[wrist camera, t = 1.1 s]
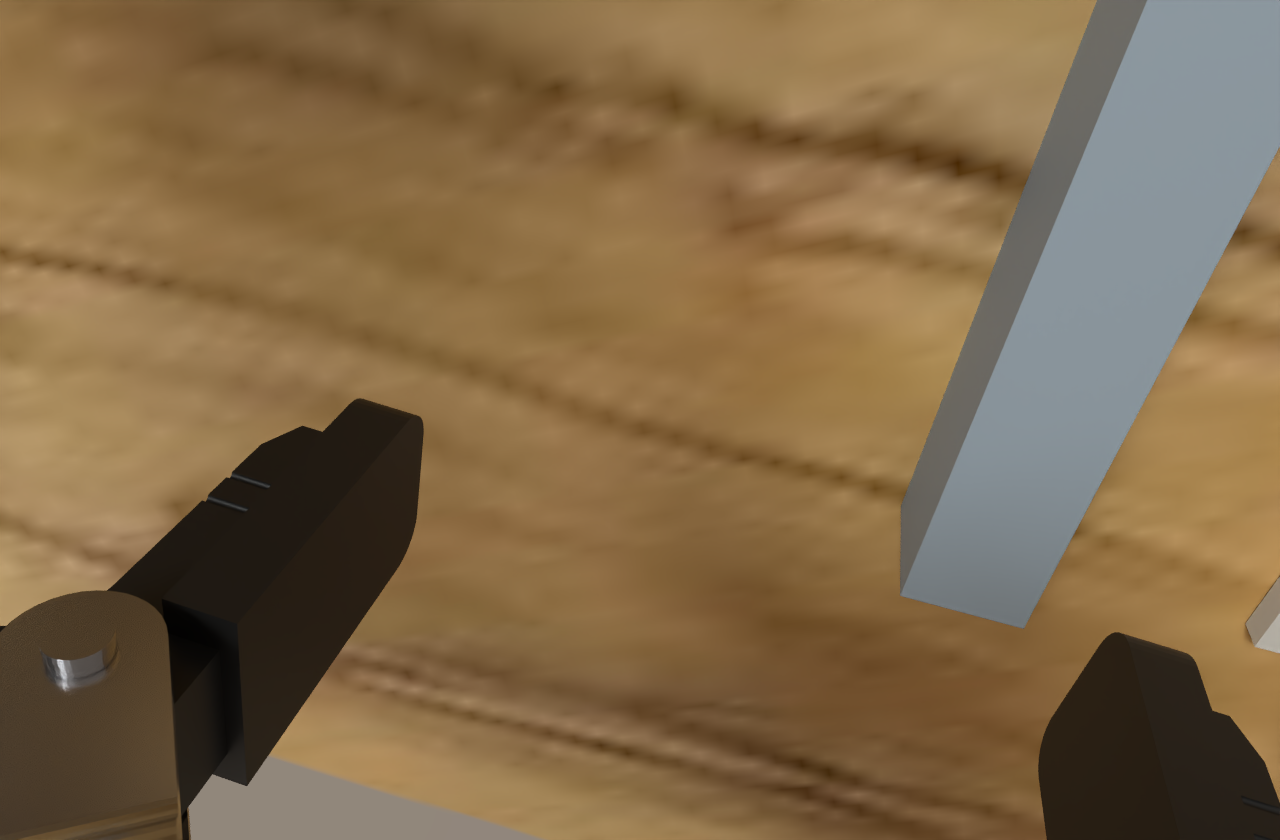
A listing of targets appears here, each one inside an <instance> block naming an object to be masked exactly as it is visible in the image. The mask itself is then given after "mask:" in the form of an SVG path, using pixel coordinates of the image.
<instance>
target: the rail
mask: <svg viewBox="0 0 1280 840" xmlns="http://www.w3.org/2000/svg"><path fill="white" fill-rule="evenodd" d="M1279 147H1280V0H1097V2H1096V5H1095V7H1094V10H1093V12H1092V15H1091V18H1090V20H1089V23H1088V25H1087V28H1086V30H1085V33H1084V36H1083V38H1082V41H1081V43H1080V46H1079V49H1078V51H1077V54H1076V56H1075V59H1074V61H1073V64H1072V67H1071V69H1070V72H1069V74H1068V77H1067V79H1066V82H1065V85H1064V87H1063V90H1062V92H1061V95H1060V98H1059V100H1058V103H1057V105H1056V108H1055V110H1054V113H1053V116H1052V118H1051V121H1050V123H1049V126H1048V128H1047V131H1046V134H1045V136H1044V139H1043V141H1042V144H1041V146H1040V149H1039V152H1038V154H1037V157H1036V159H1035V162H1034V165H1033V167H1032V170H1031V172H1030V175H1029V177H1028V180H1027V183H1026V185H1025V188H1024V190H1023V193H1022V195H1021V198H1020V201H1019V203H1018V206H1017V208H1016V211H1015V214H1014V216H1013V219H1012V221H1011V224H1010V226H1009V229H1008V232H1007V234H1006V237H1005V239H1004V242H1003V244H1002V247H1001V250H1000V252H999V255H998V257H997V260H996V263H995V265H994V268H993V270H992V273H991V275H990V278H989V281H988V283H987V286H986V288H985V291H984V293H983V296H982V299H981V301H980V304H979V306H978V309H977V312H976V314H975V317H974V319H973V322H972V324H971V327H970V330H969V332H968V335H967V337H966V340H965V342H964V345H963V348H962V350H961V353H960V355H959V358H958V361H957V363H956V366H955V368H954V371H953V373H952V376H951V379H950V381H949V384H948V386H947V389H946V391H945V394H944V397H943V399H942V402H941V404H940V407H939V410H938V412H937V415H936V417H935V420H934V422H933V425H932V428H931V430H930V433H929V435H928V438H927V440H926V443H925V446H924V448H923V451H922V453H921V456H920V459H919V461H918V464H917V466H916V469H915V471H914V474H913V477H912V479H911V482H910V484H909V487H908V489H907V492H906V495H905V497H904V500H903V502H902V505H901V559H900V596H903V597H907V598H910V599H914V600H918V601H922V602H925V603H929V604H933V605H936V606H940V607H944V608H948V609H951V610H955V611H959V612H963V613H966V614H970V615H974V616H978V617H981V618H985V619H989V620H993V621H996V622H1000V623H1004V624H1008V625H1011V626H1015V627H1019V628H1023V629H1024V627H1025V625H1026V623H1027V621H1028V620H1029V618H1030V616H1031V614H1032V612H1033V610H1034V608H1035V606H1036V604H1037V603H1038V601H1039V599H1040V597H1041V595H1042V593H1043V591H1044V589H1045V588H1046V586H1047V584H1048V582H1049V580H1050V578H1051V576H1052V574H1053V572H1054V571H1055V569H1056V567H1057V565H1058V563H1059V561H1060V559H1061V557H1062V555H1063V554H1064V552H1065V550H1066V548H1067V546H1068V544H1069V542H1070V540H1071V539H1072V537H1073V535H1074V533H1075V531H1076V529H1077V527H1078V525H1079V523H1080V522H1081V520H1082V518H1083V516H1084V514H1085V512H1086V510H1087V508H1088V506H1089V505H1090V503H1091V501H1092V499H1093V497H1094V495H1095V493H1096V491H1097V490H1098V488H1099V486H1100V484H1101V482H1102V480H1103V478H1104V476H1105V474H1106V473H1107V471H1108V469H1109V467H1110V465H1111V463H1112V461H1113V459H1114V457H1115V456H1116V454H1117V452H1118V450H1119V448H1120V446H1121V444H1122V442H1123V441H1124V439H1125V437H1126V435H1127V433H1128V431H1129V429H1130V427H1131V425H1132V424H1133V422H1134V420H1135V418H1136V416H1137V414H1138V412H1139V410H1140V408H1141V407H1142V405H1143V403H1144V401H1145V399H1146V397H1147V395H1148V393H1149V392H1150V390H1151V388H1152V386H1153V384H1154V382H1155V380H1156V378H1157V376H1158V375H1159V373H1160V371H1161V369H1162V367H1163V365H1164V363H1165V361H1166V359H1167V358H1168V356H1169V354H1170V352H1171V350H1172V348H1173V346H1174V344H1175V343H1176V341H1177V339H1178V337H1179V335H1180V333H1181V331H1182V329H1183V327H1184V326H1185V324H1186V322H1187V320H1188V318H1189V316H1190V314H1191V312H1192V310H1193V309H1194V307H1195V305H1196V303H1197V301H1198V299H1199V297H1200V295H1201V294H1202V292H1203V290H1204V288H1205V286H1206V284H1207V282H1208V280H1209V278H1210V277H1211V275H1212V273H1213V271H1214V269H1215V267H1216V265H1217V263H1218V261H1219V260H1220V258H1221V256H1222V254H1223V252H1224V250H1225V248H1226V246H1227V245H1228V243H1229V241H1230V239H1231V237H1232V235H1233V233H1234V231H1235V229H1236V228H1237V226H1238V224H1239V222H1240V220H1241V218H1242V216H1243V214H1244V212H1245V211H1246V209H1247V207H1248V205H1249V203H1250V201H1251V199H1252V197H1253V196H1254V194H1255V192H1256V190H1257V188H1258V186H1259V184H1260V182H1261V180H1262V179H1263V177H1264V175H1265V173H1266V171H1267V169H1268V167H1269V165H1270V163H1271V162H1272V160H1273V158H1274V156H1275V154H1276V152H1277V150H1278V148H1279Z"/></svg>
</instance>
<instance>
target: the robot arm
mask: <svg viewBox="0 0 1280 840" xmlns="http://www.w3.org/2000/svg"><path fill="white" fill-rule="evenodd" d="M423 432H424V428H423V421H422V419H421V417H419V416H417V415H414V414H410V413H407V412H404V411H401V410H397V409H394V408H391V407H388V406H384V405H381V404H378V403H374V402H371V401H368V400H365V399H360V398H359V399H356V400H354V401H353V402H352V403H350V404H349V405H348V406H347V407H346V408H345V409H344V411H343V412H342V413H341V414H340V415H339V416H338V417H337V418H336V419H335V420H334V421H333V422H332V423H331V424H330V425H329V426H328V427H327V428H326V429H325V430H324V431H323V432H321V431H318V430H315V429H311V428H308V427H305V426H301V427H299V428H296V429H294V430H292V431H290V432H288V433H285V434H283V435H281V436H279V437H276V438H274V439H272V440H270V441H268V442H265V443H263V444H261V445H260V446H259V447H258V448H257V449H256V450H255V451H254V452H253V453H252V454H250V455H249V456H248V457H247V458H246V459H245V460H244V461H243V462H242V463H241V464H240V465H239V466H238V467H237V468H236V469H235V470H234V471H233V472H232V475H231V477H230V478H227V477H226V478H225V479H224V480H223V481H222V482H221V483H220V484H219V485H218V486H217V487H216V488H215V489H214V490H213V491H212V492H211V493H210V494H209V495H208V499H207V500H206V502H205V501H201V502H200V503H199V504H198V505H197V506H196V507H195V508H194V509H193V510H192V511H191V512H190V513H189V514H188V515H187V516H185V517H184V518H183V519H182V520H181V521H180V522H179V523H178V524H177V525H176V526H175V527H174V528H173V529H172V530H171V531H170V532H169V533H168V534H167V535H166V536H165V537H163V538H162V539H161V540H160V541H159V542H158V543H157V544H156V545H155V546H154V547H153V548H152V549H151V550H150V551H149V552H148V553H147V554H146V555H145V556H144V557H143V558H141V559H140V560H139V561H138V562H137V563H136V564H135V565H134V566H133V567H132V568H131V569H130V570H129V571H128V572H127V573H126V574H125V575H124V576H123V577H122V578H120V579H119V580H118V581H117V582H116V583H115V584H114V585H113V586H112V587H111V588H110V589H108V590H107V591H97V590H96V591H84V592H77V593H72V594H67V595H63V596H60V597H57V598H53V599H50V600H48V601H46V602H43V603H41V604H38V605H36V606H34V607H33V608H31V609H29V610H27V611H25V612H24V613H22V614H21V615H19V616H18V617H17V618H15V619H14V620H12V621H11V622H10V623H9V624H8V625H7V626H0V840H191V834H190V820H189V809H188V807H189V805H190V804H191V802H192V801H193V800H194V798H195V797H196V796H197V794H198V793H199V792H200V790H201V789H202V788H203V786H204V785H205V783H206V782H207V781H208V779H209V778H210V776H211V775H212V774H214V775H216V776H219V777H222V778H225V779H228V780H231V781H233V782H236V783H239V784H242V785H245V786H247V785H248V784H249V782H250V781H251V780H252V778H253V777H254V775H255V774H256V772H257V771H258V769H259V768H260V767H261V765H262V764H263V762H264V761H265V759H266V758H267V756H268V755H269V753H270V752H271V751H272V749H273V748H274V746H275V745H276V743H277V742H278V740H279V739H280V738H281V736H282V735H283V733H284V732H285V730H286V729H287V727H288V726H289V725H290V723H291V722H292V720H293V719H294V717H295V716H296V714H297V713H298V712H299V710H300V709H301V707H302V706H303V704H304V703H305V701H306V700H307V699H308V697H309V696H310V694H311V693H312V691H313V690H314V688H315V687H316V686H317V684H318V683H319V681H320V680H321V678H322V677H323V675H324V674H325V673H326V671H327V670H328V668H329V667H330V665H331V664H332V662H333V661H334V660H335V658H336V657H337V655H338V654H339V652H340V651H341V649H342V648H343V646H344V645H345V644H346V642H347V641H348V639H349V638H350V636H351V635H352V633H353V632H354V631H355V629H356V628H357V626H358V625H359V623H360V622H361V620H362V619H363V618H364V616H365V615H366V613H367V612H368V610H369V609H370V607H371V606H372V605H373V603H374V602H375V600H376V599H377V597H378V596H379V594H380V593H381V592H382V590H383V589H384V587H385V586H386V584H387V583H388V581H389V580H390V579H391V577H392V576H393V574H394V573H395V571H396V570H397V568H398V567H399V565H400V564H401V562H402V560H403V558H404V556H405V554H406V552H407V549H408V547H409V544H410V541H411V539H412V535H413V532H414V528H415V524H416V518H417V508H418V495H419V483H420V471H421V458H422V446H423ZM1038 773H1039V783H1040V791H1041V798H1042V806H1043V813H1044V821H1045V829H1046V836H1047V840H1280V802H1279V800H1278V797H1277V794H1276V792H1275V789H1274V786H1273V783H1272V781H1271V778H1270V775H1269V773H1268V770H1267V767H1266V765H1265V762H1264V761H1263V759H1262V758H1261V757H1260V756H1259V754H1258V753H1257V752H1256V750H1255V749H1254V748H1253V746H1252V745H1251V744H1250V742H1249V741H1248V740H1247V738H1246V737H1245V736H1244V734H1243V733H1242V732H1241V730H1240V729H1239V728H1238V726H1237V725H1236V724H1235V723H1234V721H1233V720H1232V719H1231V717H1230V716H1227V715H1224V714H1221V713H1218V712H1214V711H1212V709H1211V706H1210V703H1209V700H1208V697H1207V694H1206V691H1205V688H1204V685H1203V682H1202V679H1201V676H1200V673H1199V670H1198V667H1197V665H1196V662H1195V661H1194V659H1193V658H1192V657H1191V656H1190V655H1189V654H1187V653H1184V652H1181V651H1178V650H1174V649H1171V648H1168V647H1165V646H1161V645H1158V644H1155V643H1152V642H1148V641H1145V640H1142V639H1138V638H1135V637H1132V636H1129V635H1125V634H1122V633H1119V632H1115V633H1112V634H1110V635H1109V636H1107V637H1106V638H1105V639H1104V640H1103V642H1102V643H1101V644H1100V646H1099V647H1098V649H1097V650H1096V652H1095V653H1094V655H1093V656H1092V658H1091V659H1090V661H1089V662H1088V664H1087V665H1086V667H1085V668H1084V670H1083V671H1082V673H1081V674H1080V676H1079V677H1078V679H1077V680H1076V682H1075V683H1074V685H1073V686H1072V688H1071V689H1070V691H1069V692H1068V694H1067V695H1066V697H1065V698H1064V700H1063V701H1062V703H1061V704H1060V706H1059V708H1058V709H1057V711H1056V712H1055V714H1054V715H1053V717H1052V718H1051V720H1050V722H1049V724H1048V726H1047V728H1046V731H1045V733H1044V736H1043V740H1042V744H1041V748H1040V754H1039V764H1038Z"/></svg>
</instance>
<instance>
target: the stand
mask: <svg viewBox="0 0 1280 840" xmlns="http://www.w3.org/2000/svg"><path fill="white" fill-rule="evenodd" d="M1246 626H1247V629H1248V631H1249V634H1250V636H1251V639H1252V641H1253V644H1254V646H1255V647H1258V648H1262V649H1265V650H1269V651H1273V652H1277V653H1280V577H1279V578H1278V579H1277V581H1276V582H1275V584H1274V585H1273V586H1272V588H1271V589H1270V591H1269V592H1268V593H1267V595H1266V596H1265V597H1264V599H1263V600H1262V602H1261V603H1260V604H1259V606H1258V607H1257V608H1256V610H1255V611H1254V613H1253V614H1252V615H1251V617H1250V618H1249V620H1248V621H1247V622H1246Z"/></svg>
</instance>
